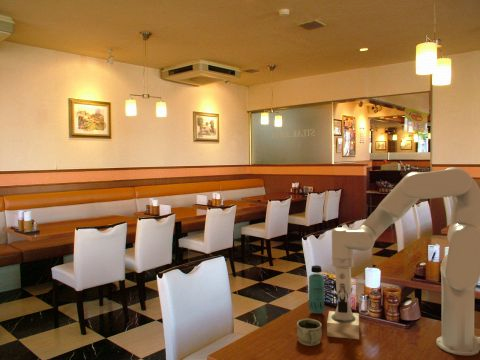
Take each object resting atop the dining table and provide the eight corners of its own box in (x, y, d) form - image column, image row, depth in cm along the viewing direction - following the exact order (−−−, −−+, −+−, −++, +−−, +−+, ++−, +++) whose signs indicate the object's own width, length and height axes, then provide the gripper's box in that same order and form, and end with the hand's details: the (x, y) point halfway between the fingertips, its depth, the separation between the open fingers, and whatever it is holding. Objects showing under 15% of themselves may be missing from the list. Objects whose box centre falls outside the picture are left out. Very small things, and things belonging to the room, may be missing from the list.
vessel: (294, 333, 145) (294, 317, 145) (318, 332, 146) (318, 316, 145) (299, 349, 133) (299, 331, 133) (325, 348, 134) (325, 330, 133)
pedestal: (358, 326, 150) (358, 312, 150) (359, 339, 139) (358, 324, 139) (329, 323, 153) (329, 310, 153) (327, 336, 143) (327, 322, 142)
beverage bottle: (306, 312, 165) (305, 265, 164) (320, 310, 167) (319, 263, 166) (313, 318, 159) (312, 269, 158) (328, 315, 161) (327, 267, 160)
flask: (354, 322, 142) (354, 294, 141) (334, 320, 143) (333, 293, 143) (353, 314, 149) (352, 288, 148) (333, 313, 150) (333, 287, 150)
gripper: (353, 268, 135) (353, 317, 136) (353, 256, 152) (353, 299, 153) (330, 267, 138) (331, 315, 139) (333, 255, 154) (333, 298, 155)
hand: (343, 307), depth 146 cm, fingers open, 9 cm apart
